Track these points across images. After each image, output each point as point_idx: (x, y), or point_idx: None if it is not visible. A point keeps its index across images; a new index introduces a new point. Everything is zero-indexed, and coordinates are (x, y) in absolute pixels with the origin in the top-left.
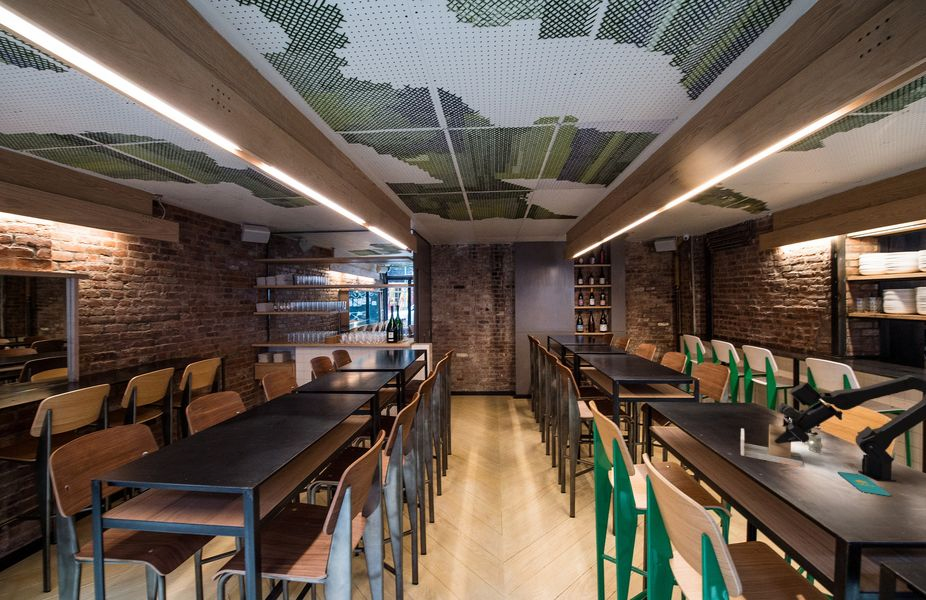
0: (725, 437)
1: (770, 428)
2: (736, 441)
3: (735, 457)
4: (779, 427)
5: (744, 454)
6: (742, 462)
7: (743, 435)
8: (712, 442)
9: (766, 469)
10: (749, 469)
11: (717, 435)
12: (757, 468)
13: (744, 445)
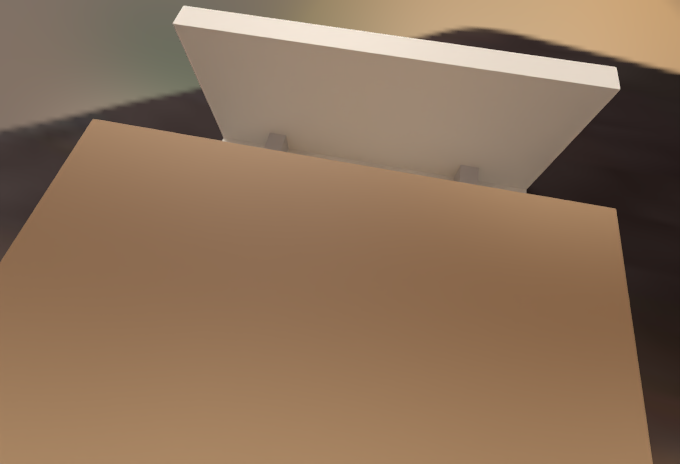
0: (627, 118)
1: (135, 134)
2: (580, 166)
3: (207, 103)
4: (368, 455)
5: (249, 144)
6: (125, 121)
7: (322, 40)
8: (446, 41)
9: (19, 225)
10: (9, 132)
11: (634, 82)
12: (32, 177)
13: (456, 177)
